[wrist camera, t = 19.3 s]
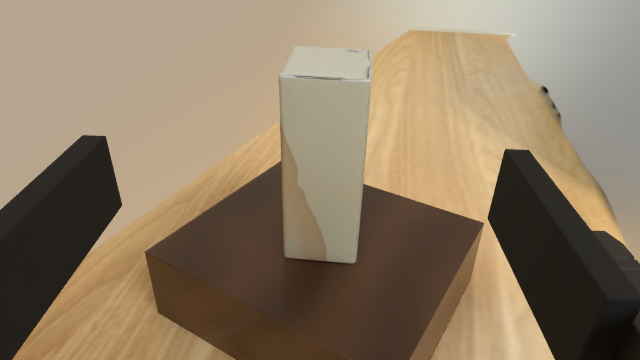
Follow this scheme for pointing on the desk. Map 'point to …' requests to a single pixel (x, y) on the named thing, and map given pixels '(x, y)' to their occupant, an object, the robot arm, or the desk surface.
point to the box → (323, 150)
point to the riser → (315, 279)
